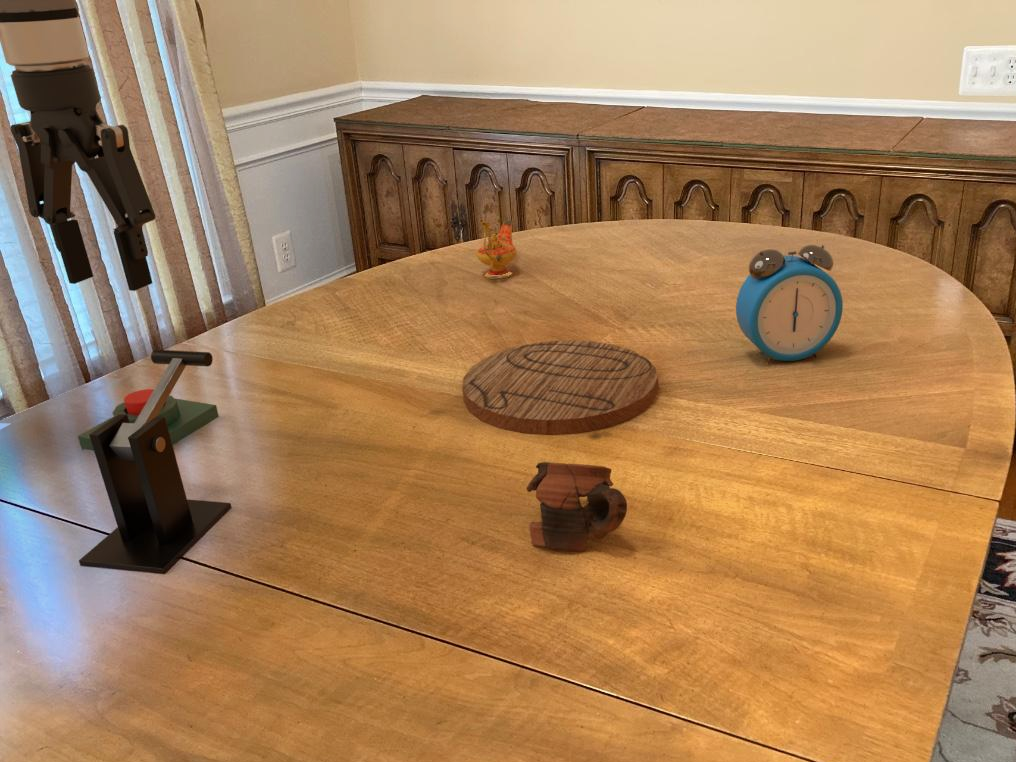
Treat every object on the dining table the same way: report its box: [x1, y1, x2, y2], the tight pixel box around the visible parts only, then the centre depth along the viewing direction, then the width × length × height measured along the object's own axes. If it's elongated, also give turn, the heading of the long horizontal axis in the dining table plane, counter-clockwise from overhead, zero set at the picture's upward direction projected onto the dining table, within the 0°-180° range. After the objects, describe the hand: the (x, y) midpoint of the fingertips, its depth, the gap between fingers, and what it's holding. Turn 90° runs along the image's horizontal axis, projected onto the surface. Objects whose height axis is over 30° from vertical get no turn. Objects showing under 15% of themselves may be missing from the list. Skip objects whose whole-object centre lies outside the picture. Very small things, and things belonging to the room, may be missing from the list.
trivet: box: [461, 339, 659, 436], centre depth 126 cm, size 25×25×2 cm
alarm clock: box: [735, 244, 844, 365], centre depth 130 cm, size 13×6×15 cm, turn 103°
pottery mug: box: [526, 461, 628, 552], centre depth 95 cm, size 12×10×8 cm
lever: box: [109, 349, 214, 462], centre depth 95 cm, size 13×6×2 cm, turn 169°
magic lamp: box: [476, 220, 517, 280], centre depth 169 cm, size 7×18×11 cm, turn 171°
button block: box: [77, 394, 220, 451], centre depth 117 cm, size 10×12×4 cm
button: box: [123, 388, 164, 415], centre depth 116 cm, size 4×4×2 cm
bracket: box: [78, 414, 232, 575], centre depth 94 cm, size 12×9×13 cm
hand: (110, 283), depth 109 cm, fingers open, 8 cm apart
